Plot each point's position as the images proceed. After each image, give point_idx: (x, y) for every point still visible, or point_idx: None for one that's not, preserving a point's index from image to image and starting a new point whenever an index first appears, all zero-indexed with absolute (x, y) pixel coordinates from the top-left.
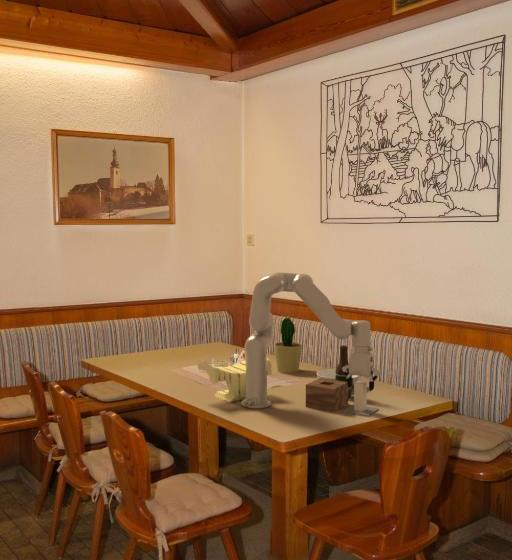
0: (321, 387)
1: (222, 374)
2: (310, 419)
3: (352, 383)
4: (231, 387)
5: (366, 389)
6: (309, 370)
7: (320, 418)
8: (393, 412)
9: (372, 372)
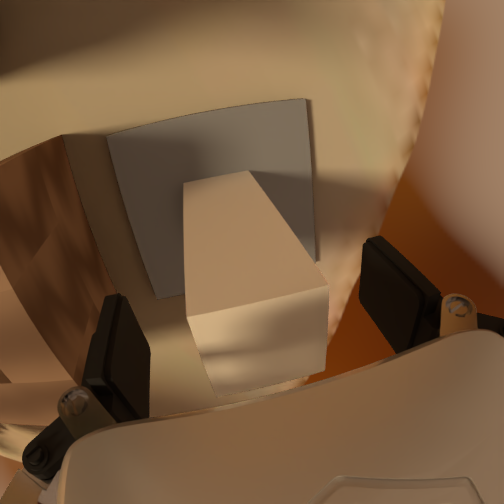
0: (32, 422)
1: None
2: (150, 415)
3: (122, 319)
4: None
5: (294, 237)
6: None
7: (164, 396)
8: (392, 103)
9: (498, 343)
